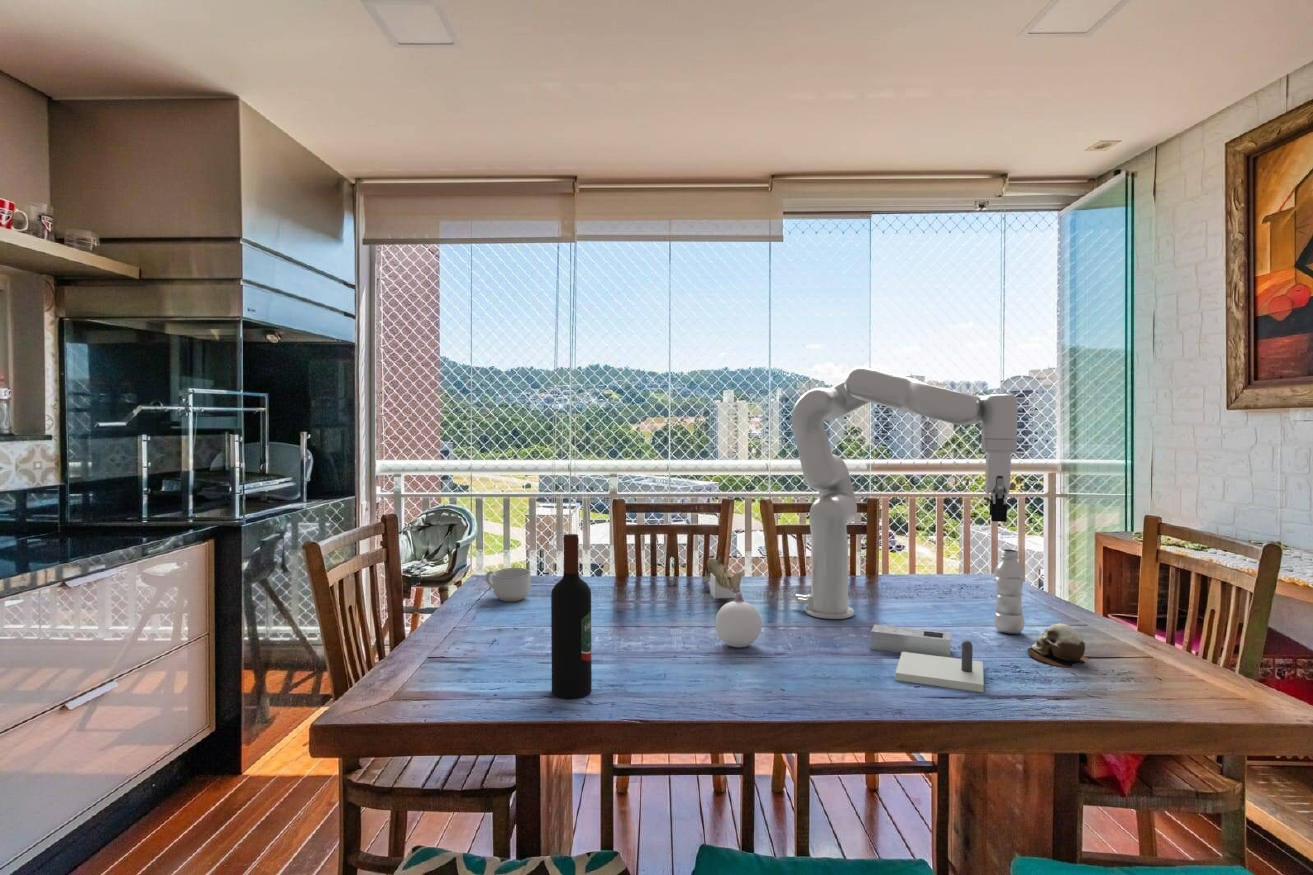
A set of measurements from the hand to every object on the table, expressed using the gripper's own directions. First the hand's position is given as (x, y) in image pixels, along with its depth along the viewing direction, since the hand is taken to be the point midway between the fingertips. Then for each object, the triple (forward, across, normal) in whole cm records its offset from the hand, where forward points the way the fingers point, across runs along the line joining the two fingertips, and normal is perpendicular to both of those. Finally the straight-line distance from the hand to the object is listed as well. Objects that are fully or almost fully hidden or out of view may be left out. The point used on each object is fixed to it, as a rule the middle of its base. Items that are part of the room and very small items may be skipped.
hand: (997, 518), depth 172 cm
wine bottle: (+29, +69, -77) cm, 107 cm away
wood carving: (+29, -11, -71) cm, 77 cm away
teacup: (+29, +14, -128) cm, 132 cm away
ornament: (+29, +30, -55) cm, 69 cm away
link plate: (+28, +18, -18) cm, 38 cm away
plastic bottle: (+28, -4, +3) cm, 29 cm away
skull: (+29, +12, +12) cm, 33 cm away
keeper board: (+28, +32, -12) cm, 44 cm away
